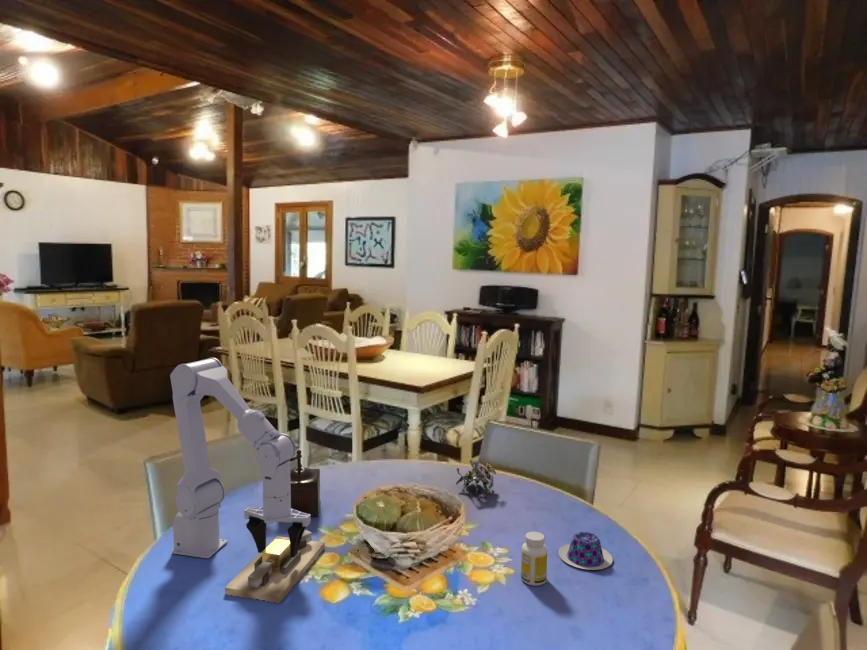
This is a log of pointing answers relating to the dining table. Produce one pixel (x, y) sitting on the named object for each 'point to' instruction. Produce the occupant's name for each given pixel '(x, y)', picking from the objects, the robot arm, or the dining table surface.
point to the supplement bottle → (534, 559)
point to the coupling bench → (275, 573)
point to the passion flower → (479, 476)
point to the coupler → (277, 554)
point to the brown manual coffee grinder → (305, 488)
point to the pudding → (585, 552)
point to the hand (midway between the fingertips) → (278, 552)
